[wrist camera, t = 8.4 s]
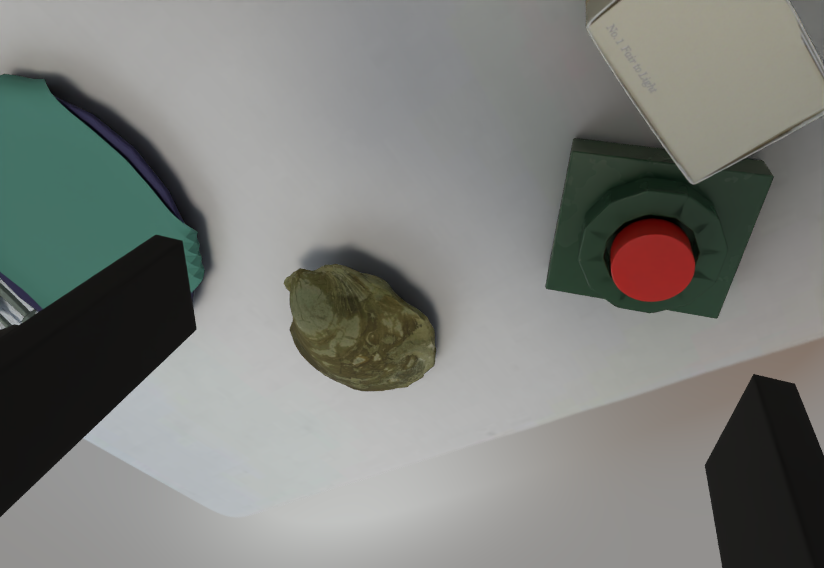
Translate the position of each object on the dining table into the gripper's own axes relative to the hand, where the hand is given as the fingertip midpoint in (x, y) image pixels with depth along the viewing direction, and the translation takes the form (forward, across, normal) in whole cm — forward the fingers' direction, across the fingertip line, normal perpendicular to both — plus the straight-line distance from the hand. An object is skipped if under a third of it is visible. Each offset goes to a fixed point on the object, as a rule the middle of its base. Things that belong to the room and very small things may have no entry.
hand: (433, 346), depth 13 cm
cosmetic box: (+20, +5, +6) cm, 22 cm away
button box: (+20, +7, -4) cm, 22 cm away
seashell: (+20, -9, -16) cm, 27 cm away
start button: (+16, +7, -4) cm, 18 cm away
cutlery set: (+20, -34, -16) cm, 42 cm away
